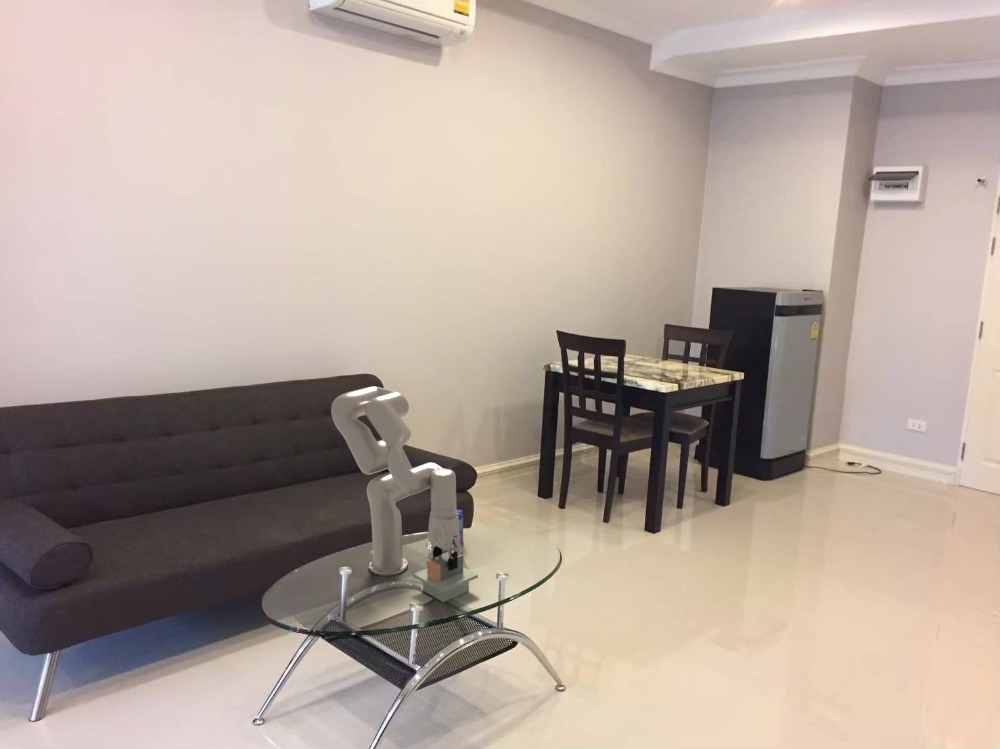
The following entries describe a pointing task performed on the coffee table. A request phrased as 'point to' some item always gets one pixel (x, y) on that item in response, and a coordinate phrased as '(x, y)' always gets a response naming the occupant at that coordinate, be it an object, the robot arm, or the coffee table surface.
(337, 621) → the coffee table surface
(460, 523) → the ink cartridge box
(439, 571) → the block
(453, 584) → the stand
